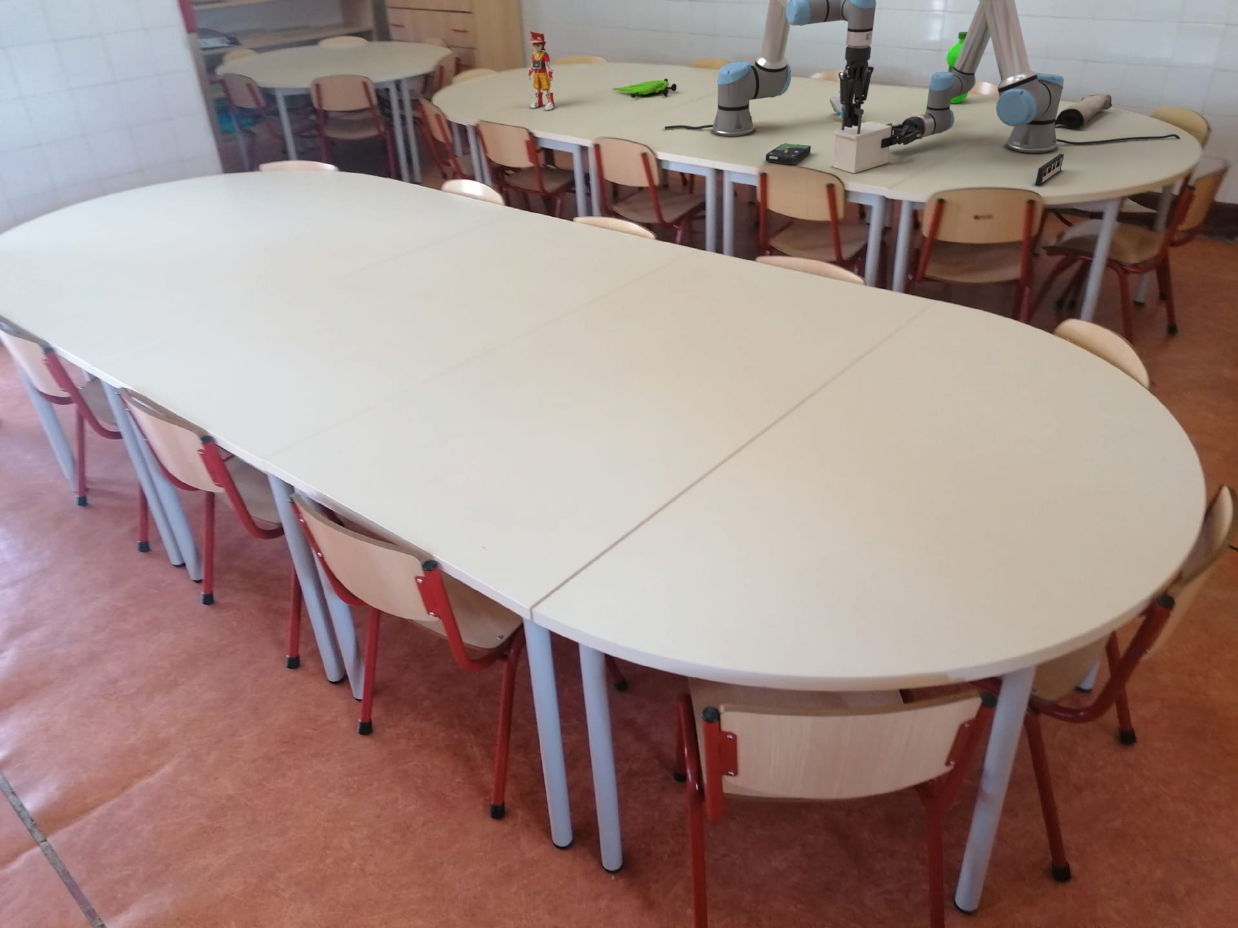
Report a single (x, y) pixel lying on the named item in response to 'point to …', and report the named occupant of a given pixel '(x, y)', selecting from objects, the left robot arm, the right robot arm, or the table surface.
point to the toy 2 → (648, 88)
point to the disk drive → (788, 153)
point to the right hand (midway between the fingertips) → (870, 140)
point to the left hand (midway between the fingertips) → (851, 126)
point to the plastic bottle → (951, 61)
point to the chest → (860, 152)
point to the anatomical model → (837, 104)
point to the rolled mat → (1083, 110)
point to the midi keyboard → (1049, 169)
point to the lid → (860, 127)
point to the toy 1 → (541, 71)
